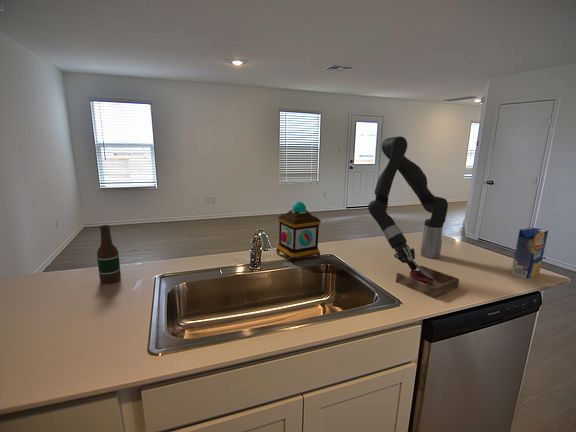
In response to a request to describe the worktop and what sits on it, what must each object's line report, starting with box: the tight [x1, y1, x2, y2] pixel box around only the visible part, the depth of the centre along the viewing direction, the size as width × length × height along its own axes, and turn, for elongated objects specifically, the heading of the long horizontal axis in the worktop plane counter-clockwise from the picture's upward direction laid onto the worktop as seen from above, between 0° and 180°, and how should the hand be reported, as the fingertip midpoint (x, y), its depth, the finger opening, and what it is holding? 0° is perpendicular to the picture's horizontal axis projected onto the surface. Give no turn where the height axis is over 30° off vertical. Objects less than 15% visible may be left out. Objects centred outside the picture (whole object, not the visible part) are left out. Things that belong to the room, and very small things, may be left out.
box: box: [395, 265, 460, 299], centre depth 131 cm, size 18×18×4 cm
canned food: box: [408, 260, 434, 287], centre depth 133 cm, size 11×10×10 cm
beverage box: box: [510, 227, 549, 279], centre depth 144 cm, size 7×11×22 cm, turn 118°
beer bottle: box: [96, 224, 122, 285], centre depth 126 cm, size 8×8×24 cm
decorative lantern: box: [275, 201, 322, 264], centre depth 160 cm, size 20×20×30 cm
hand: (414, 269), depth 136 cm, fingers closed
